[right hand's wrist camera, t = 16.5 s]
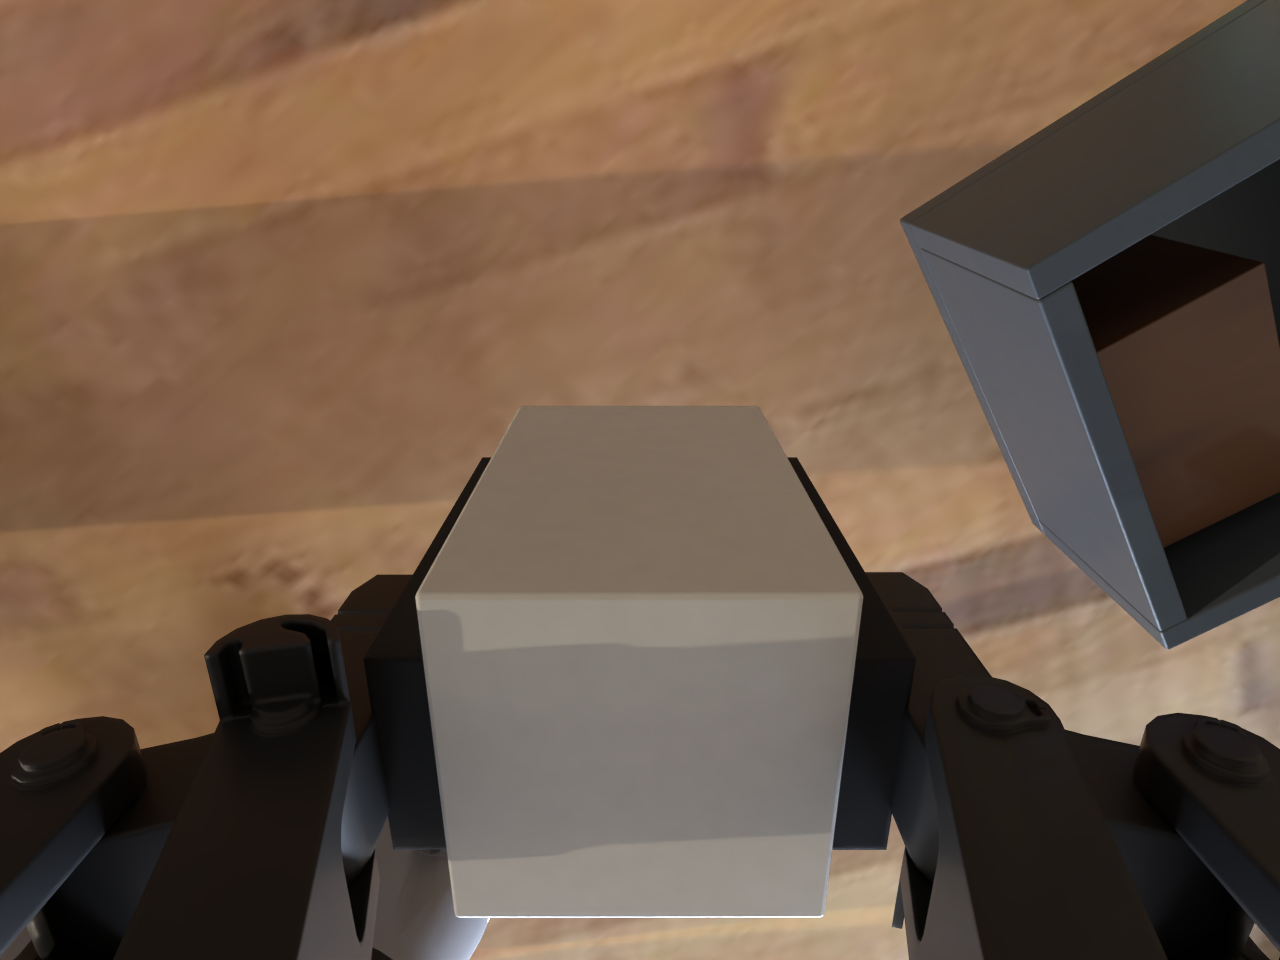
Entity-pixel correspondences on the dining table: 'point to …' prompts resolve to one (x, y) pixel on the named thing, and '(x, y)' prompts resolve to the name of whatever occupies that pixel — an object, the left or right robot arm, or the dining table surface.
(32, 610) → the dining table surface
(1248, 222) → the pan
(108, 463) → the dining table surface
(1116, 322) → the walnut block
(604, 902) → the off-white block
